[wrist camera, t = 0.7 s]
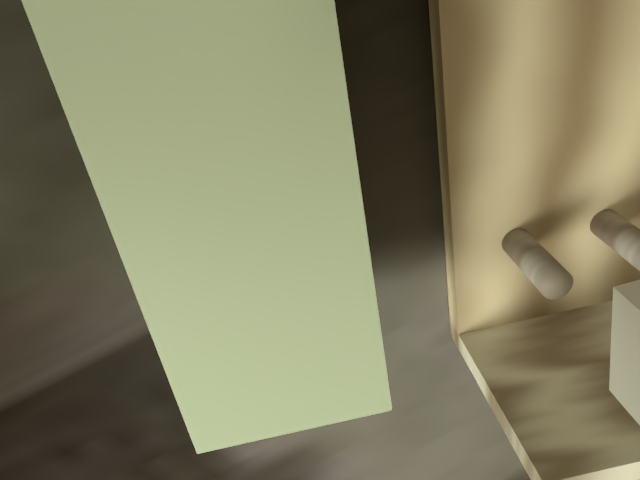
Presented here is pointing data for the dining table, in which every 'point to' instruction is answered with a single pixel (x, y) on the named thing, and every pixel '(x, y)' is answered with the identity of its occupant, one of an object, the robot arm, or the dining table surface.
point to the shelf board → (229, 201)
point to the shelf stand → (542, 216)
